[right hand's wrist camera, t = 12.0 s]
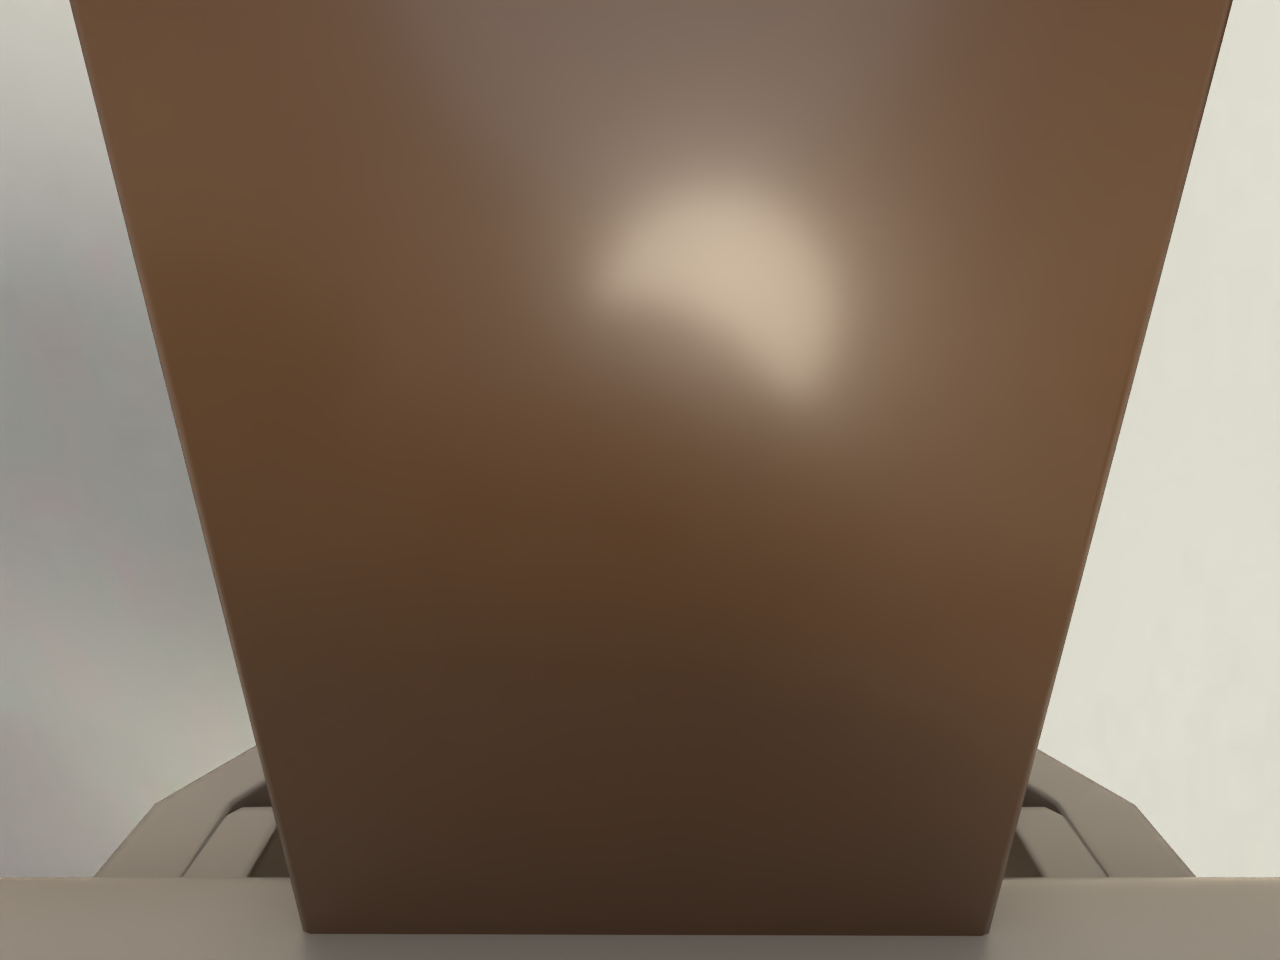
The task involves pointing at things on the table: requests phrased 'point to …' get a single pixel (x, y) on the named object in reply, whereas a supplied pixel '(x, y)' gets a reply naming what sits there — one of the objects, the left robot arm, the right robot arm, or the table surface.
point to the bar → (648, 427)
